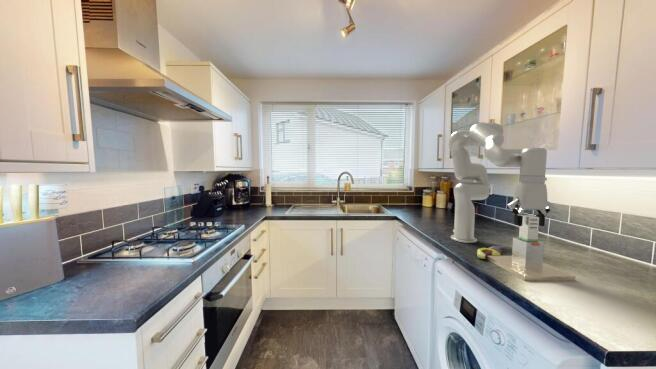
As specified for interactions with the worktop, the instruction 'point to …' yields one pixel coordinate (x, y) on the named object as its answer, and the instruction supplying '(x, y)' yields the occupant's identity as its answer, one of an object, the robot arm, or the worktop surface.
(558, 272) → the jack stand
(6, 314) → the worktop surface
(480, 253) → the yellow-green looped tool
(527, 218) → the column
